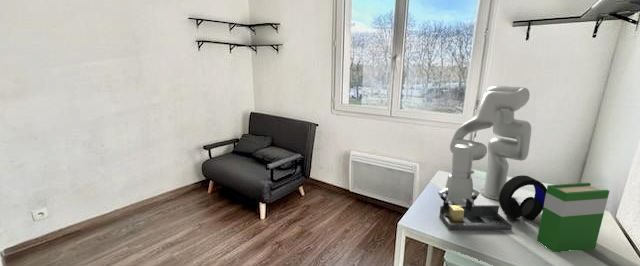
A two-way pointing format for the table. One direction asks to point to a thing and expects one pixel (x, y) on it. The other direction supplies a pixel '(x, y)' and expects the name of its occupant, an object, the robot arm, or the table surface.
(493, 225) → the grey slotted rack
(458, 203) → the white game console
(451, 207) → the brass peg
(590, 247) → the hardback book
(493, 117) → the robot arm
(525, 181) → the headphones
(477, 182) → the table surface
